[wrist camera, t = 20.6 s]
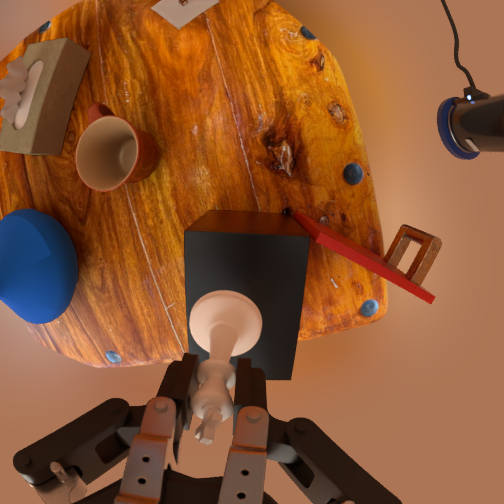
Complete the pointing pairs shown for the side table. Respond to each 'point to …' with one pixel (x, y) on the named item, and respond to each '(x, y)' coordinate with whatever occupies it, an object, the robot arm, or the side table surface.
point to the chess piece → (220, 353)
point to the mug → (113, 151)
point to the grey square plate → (182, 10)
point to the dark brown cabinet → (251, 278)
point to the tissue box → (41, 96)
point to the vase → (36, 266)
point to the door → (391, 259)
